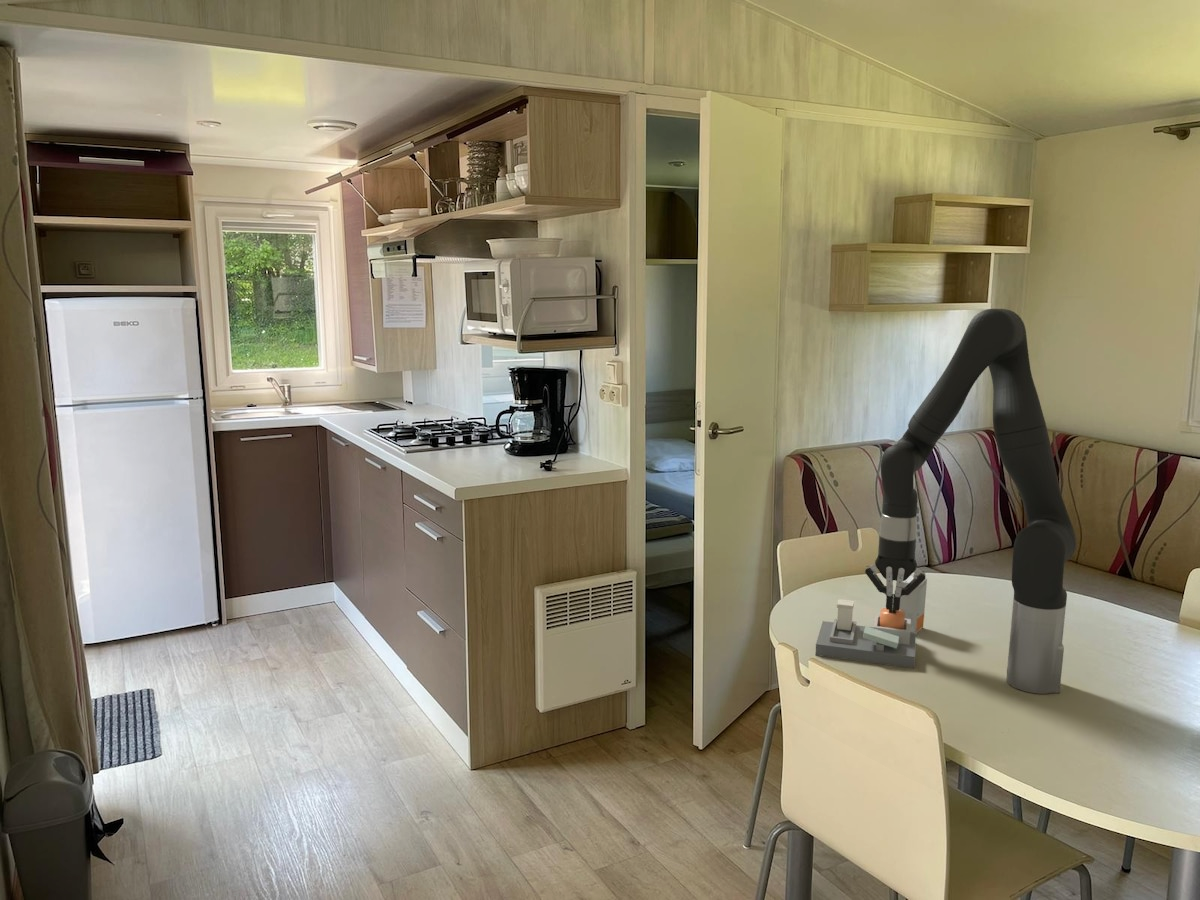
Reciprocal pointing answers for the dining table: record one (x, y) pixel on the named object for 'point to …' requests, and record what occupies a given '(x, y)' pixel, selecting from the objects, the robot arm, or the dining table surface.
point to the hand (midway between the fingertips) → (892, 611)
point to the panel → (867, 644)
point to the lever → (845, 614)
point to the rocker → (881, 637)
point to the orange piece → (892, 619)
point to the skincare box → (914, 604)
